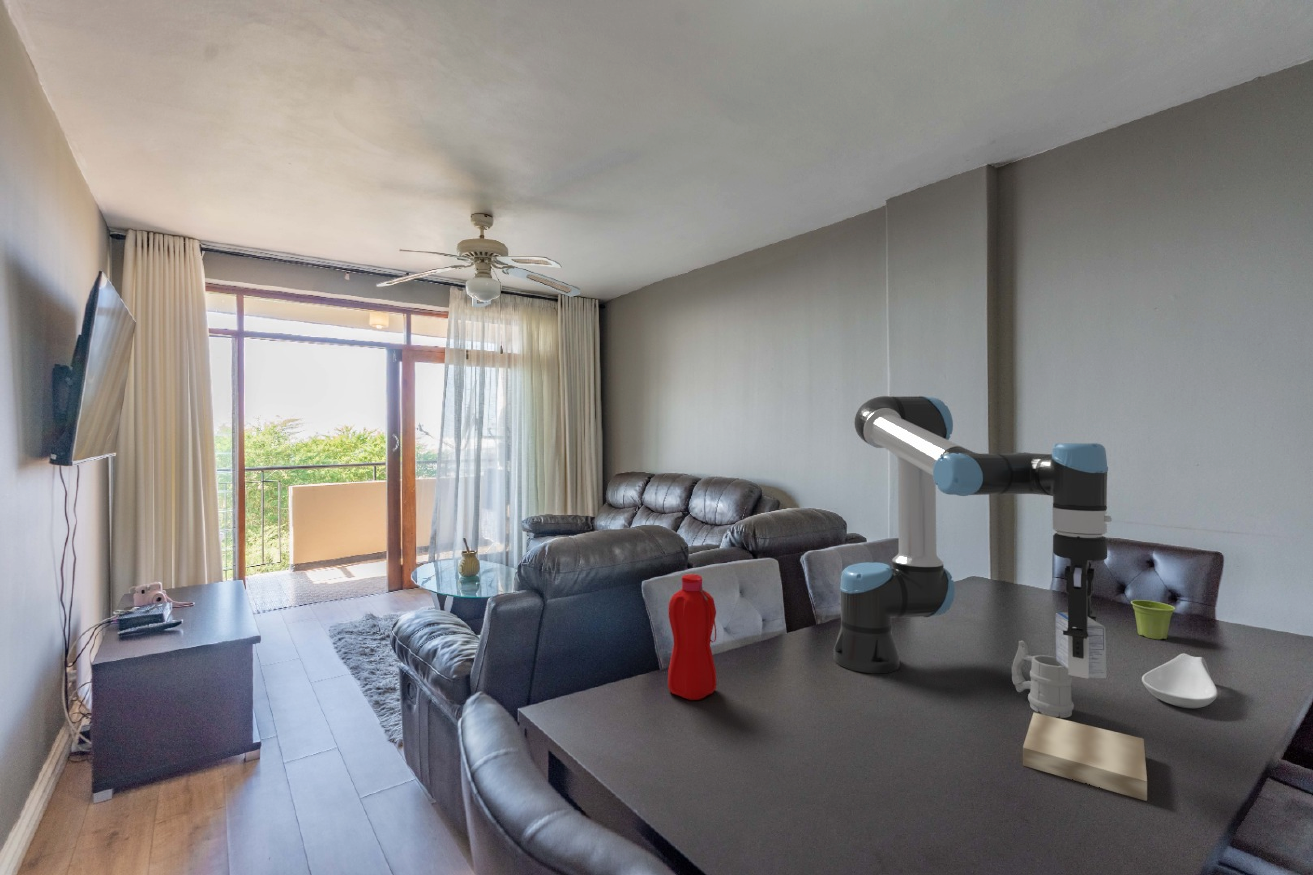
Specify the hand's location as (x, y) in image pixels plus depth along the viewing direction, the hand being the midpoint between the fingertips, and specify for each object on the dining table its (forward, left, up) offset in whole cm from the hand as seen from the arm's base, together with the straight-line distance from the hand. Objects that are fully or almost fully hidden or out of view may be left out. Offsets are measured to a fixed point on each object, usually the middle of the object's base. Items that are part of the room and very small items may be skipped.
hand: (1080, 667), depth 101 cm
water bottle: (-67, -18, -16) cm, 71 cm away
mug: (-8, +20, -16) cm, 27 cm away
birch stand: (0, 0, -16) cm, 16 cm away
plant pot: (+12, +89, -16) cm, 91 cm away
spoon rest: (+16, +46, -16) cm, 51 cm away
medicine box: (0, 0, -1) cm, 1 cm away
